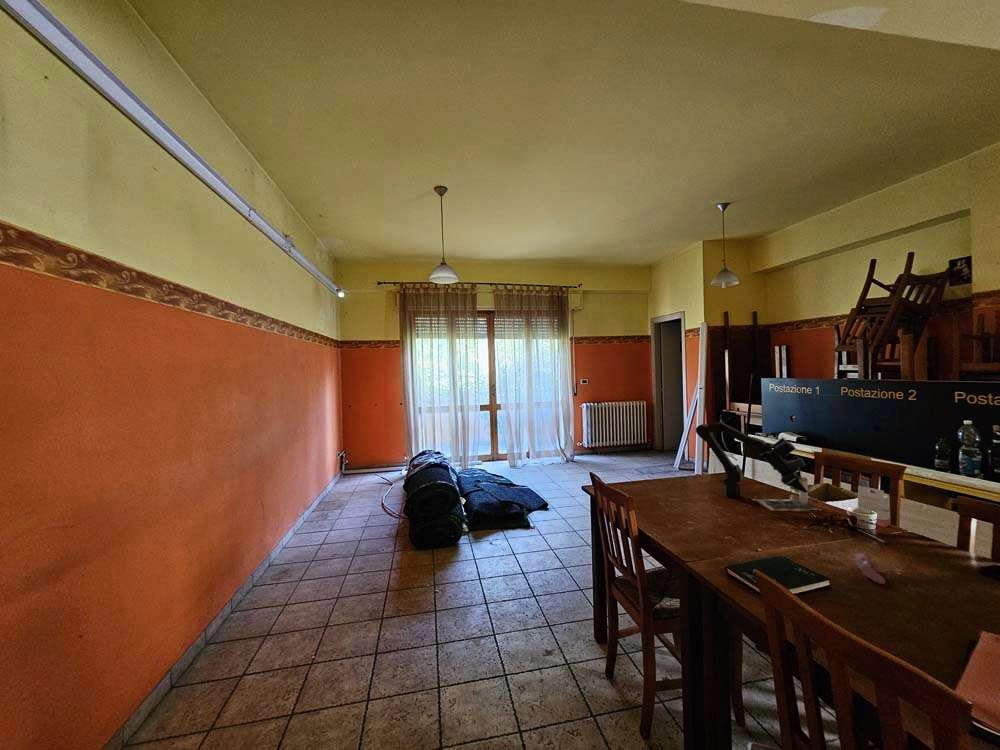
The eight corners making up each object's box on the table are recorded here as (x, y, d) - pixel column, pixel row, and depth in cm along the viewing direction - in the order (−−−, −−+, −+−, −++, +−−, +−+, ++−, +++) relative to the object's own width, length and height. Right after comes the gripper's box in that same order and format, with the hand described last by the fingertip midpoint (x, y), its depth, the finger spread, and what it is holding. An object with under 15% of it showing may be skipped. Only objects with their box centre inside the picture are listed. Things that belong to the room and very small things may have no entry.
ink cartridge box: (891, 525, 150) (890, 489, 150) (885, 527, 148) (884, 491, 148) (863, 517, 158) (862, 483, 158) (857, 520, 156) (856, 485, 156)
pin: (804, 507, 168) (803, 479, 168) (797, 505, 171) (797, 477, 171) (809, 507, 169) (809, 478, 169) (803, 505, 172) (802, 477, 172)
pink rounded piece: (863, 572, 120) (849, 550, 122) (881, 570, 117) (866, 547, 119) (868, 587, 112) (853, 563, 114) (887, 584, 110) (872, 560, 112)
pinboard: (772, 510, 168) (772, 502, 168) (756, 501, 180) (756, 494, 180) (816, 511, 167) (816, 503, 167) (797, 501, 178) (797, 494, 178)
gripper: (789, 455, 165) (823, 484, 158) (793, 448, 179) (824, 474, 172) (768, 470, 171) (799, 499, 163) (773, 462, 185) (802, 488, 177)
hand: (807, 489), depth 169 cm, fingers open, 9 cm apart
